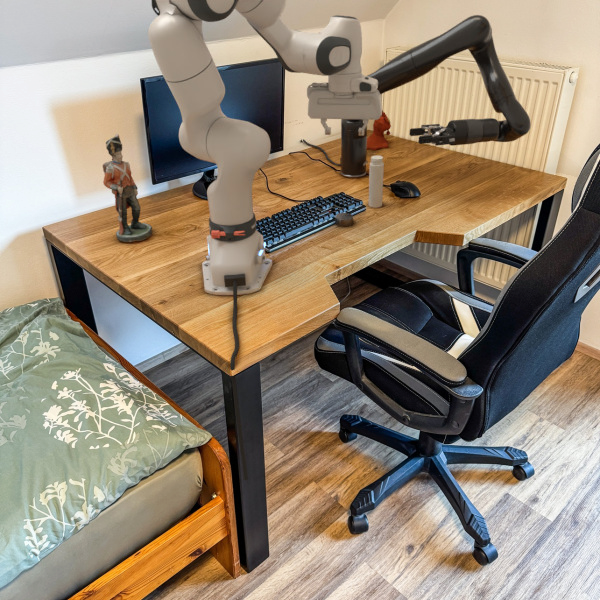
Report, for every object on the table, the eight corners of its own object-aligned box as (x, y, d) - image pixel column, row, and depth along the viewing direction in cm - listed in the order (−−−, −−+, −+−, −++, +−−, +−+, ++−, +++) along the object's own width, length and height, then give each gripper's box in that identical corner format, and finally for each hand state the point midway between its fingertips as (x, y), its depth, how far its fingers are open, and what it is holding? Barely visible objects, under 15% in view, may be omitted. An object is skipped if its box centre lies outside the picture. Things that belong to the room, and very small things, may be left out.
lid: (348, 218, 174) (348, 211, 173) (355, 224, 170) (356, 217, 169) (332, 221, 173) (332, 214, 172) (339, 228, 169) (339, 221, 167)
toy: (397, 145, 235) (399, 108, 227) (362, 152, 228) (362, 115, 220) (381, 138, 244) (382, 102, 236) (346, 145, 238) (346, 108, 230)
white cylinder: (368, 207, 181) (369, 159, 173) (368, 202, 185) (370, 154, 176) (382, 207, 180) (384, 159, 172) (382, 202, 184) (384, 155, 176)
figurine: (143, 244, 164) (122, 142, 148) (110, 242, 166) (86, 141, 150) (158, 228, 173) (139, 130, 157) (126, 227, 175) (105, 130, 159)
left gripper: (304, 85, 149) (305, 137, 157) (381, 85, 145) (379, 138, 153) (308, 80, 155) (310, 130, 162) (383, 80, 151) (381, 132, 158)
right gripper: (457, 114, 178) (407, 118, 176) (475, 125, 166) (423, 130, 164) (454, 137, 182) (406, 141, 180) (472, 150, 170) (421, 155, 168)
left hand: (344, 134), depth 157 cm, fingers open, 8 cm apart
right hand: (414, 136), depth 172 cm, fingers open, 8 cm apart
